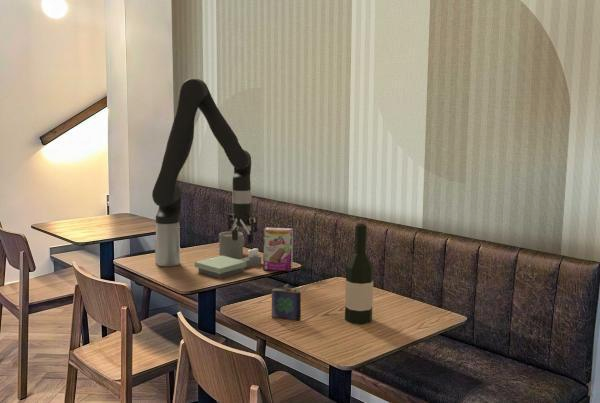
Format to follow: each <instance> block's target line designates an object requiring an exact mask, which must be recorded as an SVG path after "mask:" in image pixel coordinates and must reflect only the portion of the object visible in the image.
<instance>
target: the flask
mask: <svg viewBox="0 0 600 403" xmlns="http://www.w3.org/2000/svg"><path fill="white" fill-rule="evenodd" d="M289 286H290V284H289V283H286V284H285V285H283V288H273V289H271V318H272V319H276V320H283V321H285V320H286V321H293V322H300V321H301V316H302V315H301V313H302V312H301V311H302V310H301V305H302V304H301V303H302V300H301V295H302V293H301V291H300V290H297V289H293V288H292V287H289Z"/></svg>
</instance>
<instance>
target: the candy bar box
mask: <svg viewBox="0 0 600 403" xmlns="http://www.w3.org/2000/svg"><path fill="white" fill-rule="evenodd" d="M293 242H294V228H290V227H287V228H284V227H267V226H266V227H265V228H263V256H262V257H263V265H262V270H263V271H275V272H277V271H278V272H291V271H292V270H293V256H294V255H293V252H294V251H293V250H294V249H293V247H294V246H293V245H294V243H293Z"/></svg>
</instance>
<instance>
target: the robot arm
mask: <svg viewBox="0 0 600 403" xmlns="http://www.w3.org/2000/svg"><path fill="white" fill-rule="evenodd" d="M198 110H200V112H201V113H202V114H203V116H204V118H205V120H206V122H207V124H208V126H209V129H210V131H211V133H212V134H213V137H215V139H216V141H217V142H218V144H219V145H220V146H221V148H222V149H223V150H224V154H225V155H226V157H227V160H228V161H229V162H230V165H231V166H232V167H233V175H232V176H233V177H232V194H231V196H232V197H231V198H232V199H231V201H232V203H231V205H232V213H230V214H228V215H227V229H228V230H230V231H232V239H233V240H234V241H235V240H238V232H239V231H238V230H239V228H240V227H241V228H243V229H244V230H245V231H246V233H247V244H249V245H251V244H254V234H256V233H258V219H257V217H252V216H251V214H252V211H253V210H252V205H253V204H252V188H251V182H252V181H251V173H252V172H251V171H252V156H251V154H250V153H249V152H248V151H247V150H245V149H243V147H242V146H241V144H240V142H239V139H238V137H237V135H236V134H235V133H236V132H234V131H233V129H232V128H231V126H230V125H229V123H228V121H227V120H226V119H225V117H224V116H223V114H222V113H221V111H220V109H219V107H218V105H217V104H216V103H215V100H214V98H213V96H212V93H211V92H210V90H209V88H208V86H207V84H206V82H205V81H204V80H202V79H199V78H188V79H186V80H185V81H184V82H183V83H182V84H181V87H180V90H179V97H178V103H177V109H176V113H175V116H174V119H173V122H172V125H171V128H170V132H169V135H168V139H167V143H166V147H165V150H164V155H163V157H162V163H161V168H160V171H159V173H158V176H157V179H156V181H155V183H154V187H153V189H152V193H151V194H152V200H153V202H154V204H155V205H156V206H158V211H157V213H156V215H155V240H154V249H155V250H154V251H155V252H154V254H155V264H156V265H157V266H159V267H176V266H178V265H180V264H181V253H180V252H181V247H180V246H181V241H180V240H181V237H180V217H181V213H182V212H181V211H182V191H181V188H180V186H179V185H178V184H177V181H178V177H179V175H180V172H181V170H182V168H183V167H184V165H185V163H186V161H187V159H188V158H189V156H190V152H191V149H192V146H193V142H194V135H195V120H196V115H197V112H198Z"/></svg>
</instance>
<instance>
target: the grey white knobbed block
mask: <svg viewBox="0 0 600 403" xmlns="http://www.w3.org/2000/svg"><path fill="white" fill-rule="evenodd" d="M238 260H242V261H246V267H243V269H247V268H251V267H254V266H259V265H262V256H259V248H252V249H248V250H247V257H242V258H241V259H238Z"/></svg>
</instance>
